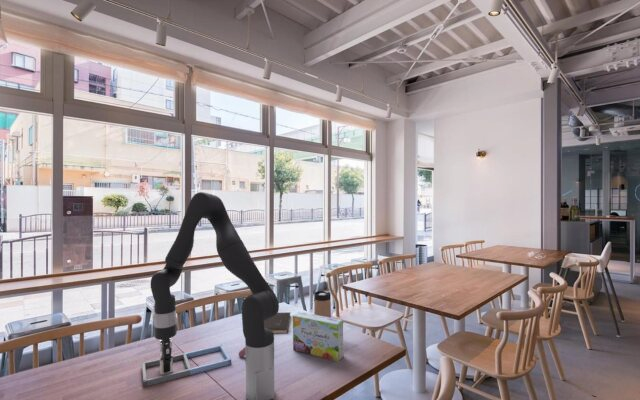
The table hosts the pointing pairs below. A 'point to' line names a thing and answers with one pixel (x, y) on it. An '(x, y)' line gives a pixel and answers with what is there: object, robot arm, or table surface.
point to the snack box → (318, 335)
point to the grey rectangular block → (162, 365)
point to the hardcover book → (278, 323)
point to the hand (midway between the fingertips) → (166, 368)
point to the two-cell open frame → (188, 369)
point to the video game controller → (242, 352)
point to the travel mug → (322, 304)
